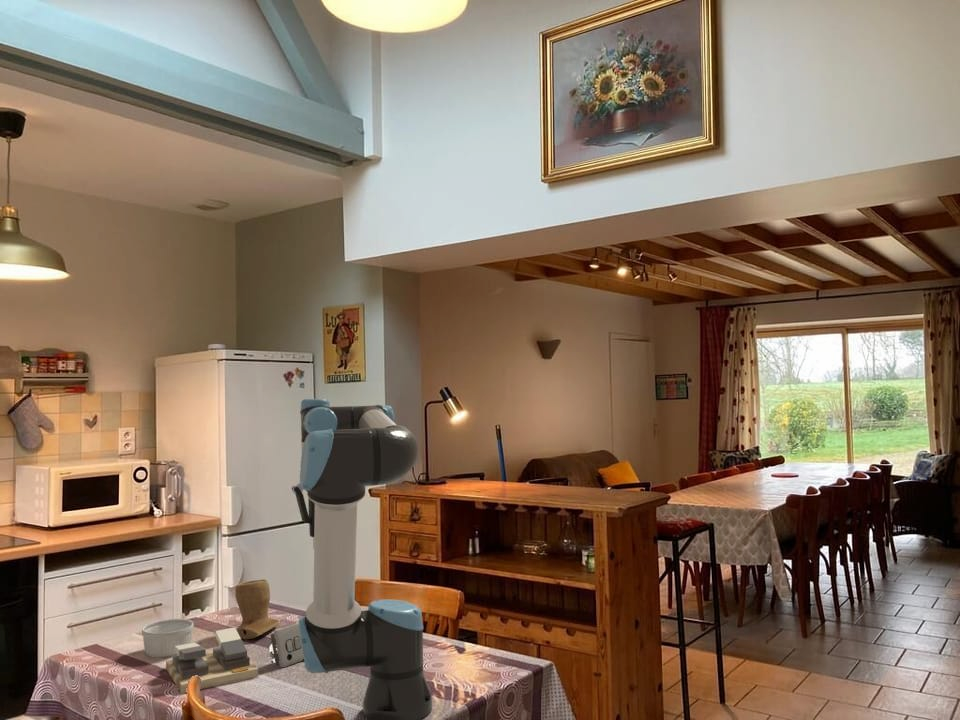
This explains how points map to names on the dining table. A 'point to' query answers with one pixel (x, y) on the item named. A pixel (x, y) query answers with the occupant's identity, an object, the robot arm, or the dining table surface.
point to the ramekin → (166, 636)
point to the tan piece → (254, 608)
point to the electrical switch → (287, 645)
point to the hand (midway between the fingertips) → (317, 548)
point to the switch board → (210, 669)
